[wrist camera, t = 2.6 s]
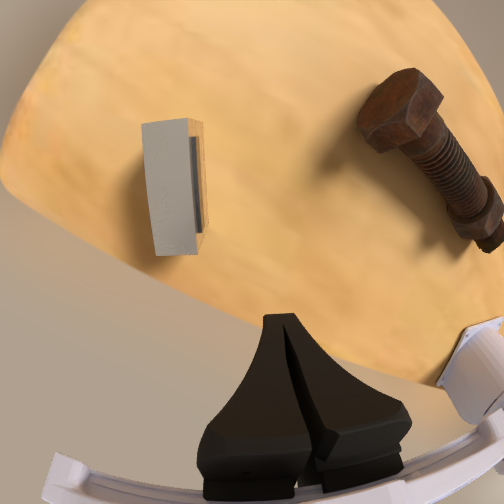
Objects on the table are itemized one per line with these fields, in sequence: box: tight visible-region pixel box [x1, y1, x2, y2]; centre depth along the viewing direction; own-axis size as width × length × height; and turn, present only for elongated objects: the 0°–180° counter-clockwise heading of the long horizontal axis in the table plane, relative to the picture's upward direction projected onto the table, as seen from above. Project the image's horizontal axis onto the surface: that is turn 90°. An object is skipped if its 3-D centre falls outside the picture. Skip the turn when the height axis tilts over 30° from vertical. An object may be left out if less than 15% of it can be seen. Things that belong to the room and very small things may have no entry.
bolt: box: [357, 68, 504, 254], centre depth 14 cm, size 6×5×15 cm
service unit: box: [142, 118, 209, 256], centre depth 13 cm, size 6×2×4 cm, turn 1°
